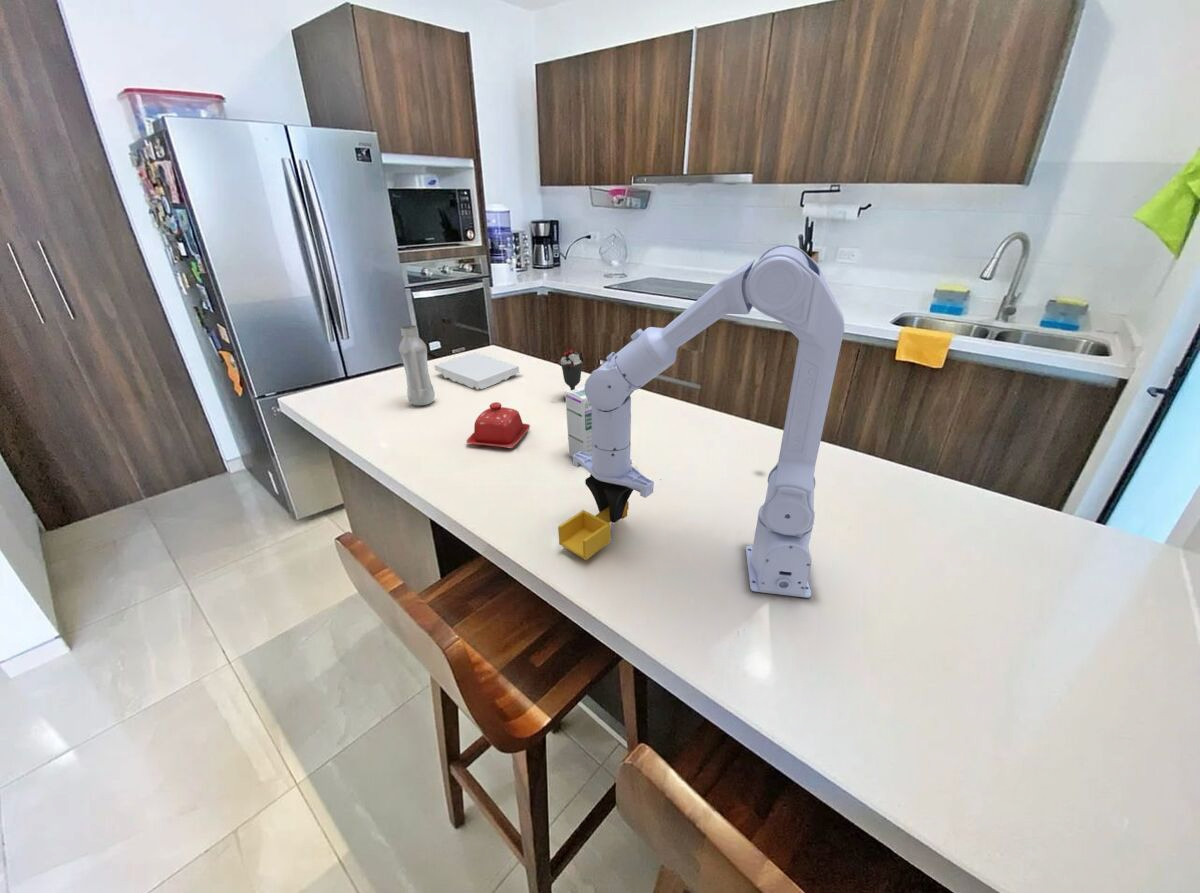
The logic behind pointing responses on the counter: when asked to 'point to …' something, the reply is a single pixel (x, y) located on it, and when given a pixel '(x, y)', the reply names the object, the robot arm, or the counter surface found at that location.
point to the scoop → (586, 532)
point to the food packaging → (477, 370)
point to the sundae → (571, 367)
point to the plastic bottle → (416, 367)
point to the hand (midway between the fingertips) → (611, 517)
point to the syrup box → (579, 421)
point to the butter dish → (498, 427)
